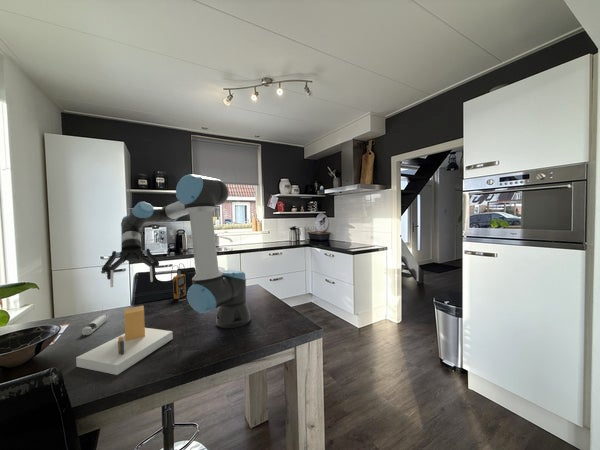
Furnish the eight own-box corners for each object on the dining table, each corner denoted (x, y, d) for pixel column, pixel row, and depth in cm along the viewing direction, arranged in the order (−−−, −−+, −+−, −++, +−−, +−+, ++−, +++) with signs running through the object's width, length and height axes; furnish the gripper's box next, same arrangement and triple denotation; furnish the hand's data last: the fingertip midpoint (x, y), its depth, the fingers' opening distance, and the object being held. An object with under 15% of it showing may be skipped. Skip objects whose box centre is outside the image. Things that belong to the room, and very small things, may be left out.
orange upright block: (144, 330, 95) (143, 305, 95) (145, 336, 90) (144, 310, 90) (125, 334, 92) (124, 308, 92) (125, 341, 87) (124, 314, 87)
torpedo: (92, 336, 98) (91, 320, 97) (78, 338, 96) (77, 322, 96) (113, 318, 115) (112, 304, 115) (101, 319, 114) (100, 306, 113)
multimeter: (184, 302, 134) (183, 267, 134) (168, 301, 136) (167, 266, 136) (200, 294, 149) (199, 262, 148) (186, 293, 151) (185, 261, 150)
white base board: (172, 338, 94) (172, 317, 94) (117, 374, 73) (115, 347, 73) (138, 333, 99) (137, 313, 98) (76, 366, 77) (75, 340, 77)
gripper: (161, 246, 121) (166, 282, 109) (97, 250, 106) (94, 292, 95) (162, 236, 116) (167, 273, 104) (95, 239, 102) (91, 282, 90)
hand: (132, 282), depth 100 cm, fingers open, 13 cm apart
